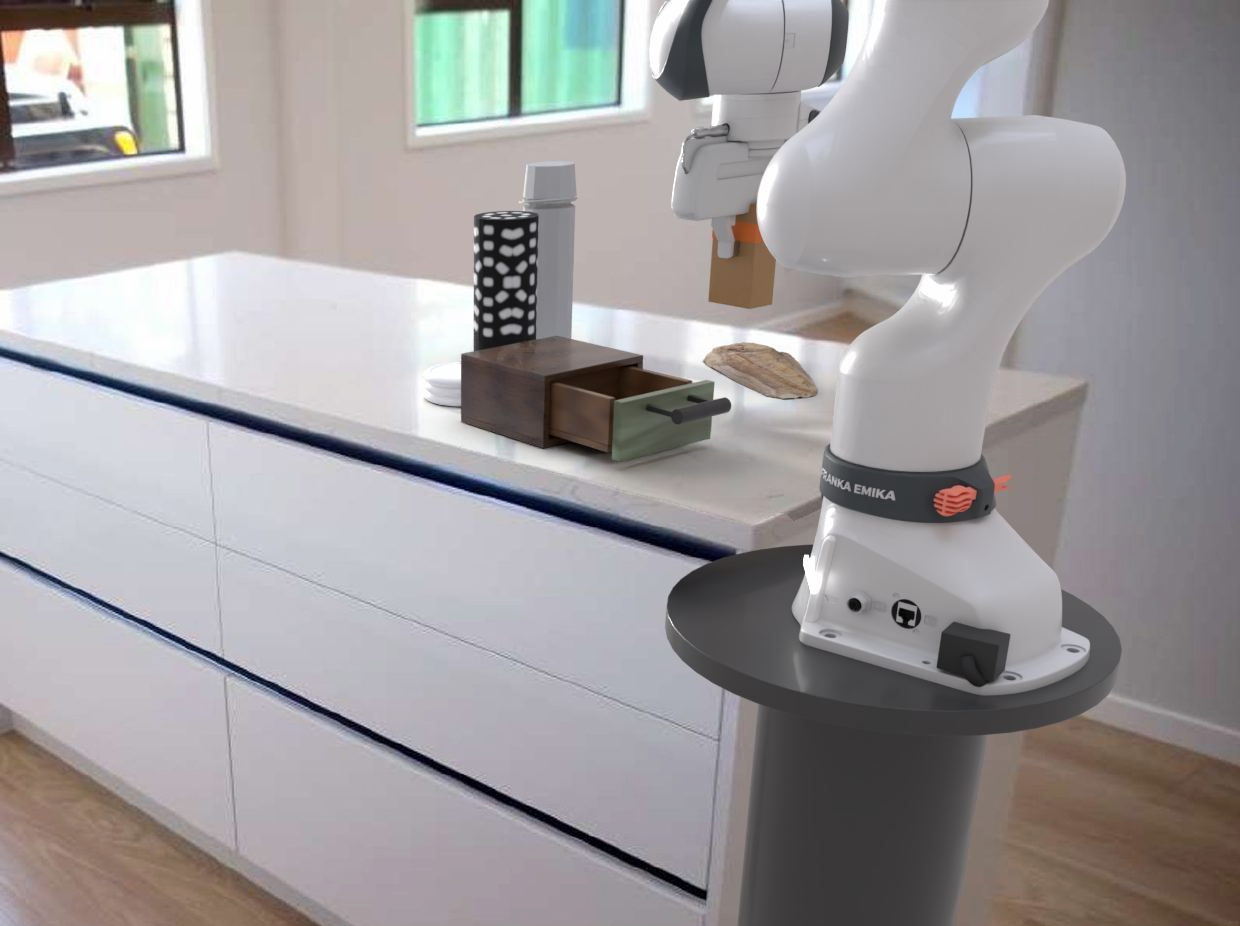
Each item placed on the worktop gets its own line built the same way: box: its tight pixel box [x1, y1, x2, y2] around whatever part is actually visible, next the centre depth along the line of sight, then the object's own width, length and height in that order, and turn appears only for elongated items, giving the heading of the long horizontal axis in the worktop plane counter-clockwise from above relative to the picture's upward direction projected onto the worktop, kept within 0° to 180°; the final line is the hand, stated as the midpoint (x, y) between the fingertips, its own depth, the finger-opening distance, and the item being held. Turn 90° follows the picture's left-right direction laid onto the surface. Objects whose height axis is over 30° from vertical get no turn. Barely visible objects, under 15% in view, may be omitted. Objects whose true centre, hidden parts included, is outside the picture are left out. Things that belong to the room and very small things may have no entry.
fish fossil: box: [703, 341, 819, 400], centre depth 181 cm, size 26×10×1 cm, turn 8°
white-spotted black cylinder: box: [473, 210, 539, 351], centre depth 187 cm, size 8×8×20 cm
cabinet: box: [460, 336, 644, 449], centre depth 163 cm, size 15×15×8 cm
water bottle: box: [518, 160, 578, 339], centre depth 197 cm, size 9×8×25 cm
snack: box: [707, 203, 777, 310], centre depth 154 cm, size 6×4×11 cm, turn 32°
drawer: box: [549, 365, 732, 463], centre depth 151 cm, size 19×13×6 cm
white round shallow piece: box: [423, 361, 461, 407], centre depth 176 cm, size 10×10×4 cm
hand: (744, 254), depth 154 cm, fingers closed on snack, 4 cm apart
